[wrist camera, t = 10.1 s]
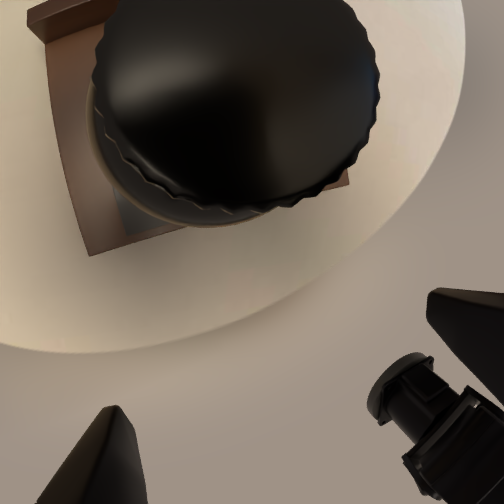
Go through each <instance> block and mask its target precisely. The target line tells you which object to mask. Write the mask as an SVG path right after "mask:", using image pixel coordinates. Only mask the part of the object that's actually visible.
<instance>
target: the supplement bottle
mask: <svg viewBox="0 0 504 504" xmlns="http://www.w3.org/2000/svg"><path fill="white" fill-rule="evenodd" d="M375 57H376V56H375V50H374V48H373V47H372V45H371V43H370V42H369V40H368V37H367V32H366V29H365V27H364V26H363V25H362V24H361V23H360V22H359V21H358V20H357V17H356V15H355V12H354V10H353V8H351V7H350V6H349V5H348V4H347V3H346V2H344V1H343V0H119V3H118V5H117V9H116V11H115V13H114V14H113V15H111V16H110V17H109V18H108V19H107V20H106V22H105V23H104V35H103V37H102V39H101V40H100V41H99V42H98V44H97V46H96V47H95V58H96V60H97V63H96V66H95V68H94V69H93V72H92V75H91V80H90V83H89V87H88V92H87V98H86V128H87V134H88V139H89V143H90V146H91V149H92V152H93V155H94V157H95V159H96V161H97V163H98V165H99V167H100V169H101V170H102V172H103V174H104V175H105V177H106V178H107V179H108V181H109V182H110V183H111V185H112V186H113V187H114V188H115V189H116V190H117V191H118V192H119V193H120V194H121V195H122V196H123V197H124V198H125V199H127V200H128V201H129V202H130V203H131V204H133V205H134V206H136V207H137V208H139V209H140V210H142V211H144V212H146V213H148V214H150V215H151V216H154V217H156V218H158V219H161V220H163V221H167V222H170V223H173V224H177V225H182V226H187V227H197V228H216V227H226V226H231V225H237V224H240V223H244V222H247V221H250V220H253V219H255V218H258V217H260V216H262V215H264V214H266V213H268V212H270V211H272V210H273V209H275V208H277V207H278V206H279V207H288V208H290V207H293V206H294V205H296V204H297V203H298V202H299V201H300V200H301V199H303V198H311V197H316V196H317V195H318V194H319V193H320V192H321V191H322V190H323V189H324V188H325V186H326V185H330V184H333V183H335V182H338V181H339V179H340V178H341V176H342V173H343V172H344V170H345V169H347V168H348V167H350V166H352V165H353V164H355V163H356V160H357V157H358V153H359V151H360V150H361V149H362V148H363V147H364V146H365V145H366V144H367V143H368V140H369V132H370V129H371V128H372V126H373V125H374V124H375V122H376V107H377V105H378V102H379V100H380V92H379V89H378V82H379V78H380V73H379V70H378V67H377V65H376V63H375Z"/></svg>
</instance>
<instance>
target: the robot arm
mask: <svg viewBox="0 0 504 504" xmlns="http://www.w3.org/2000/svg"><path fill="white" fill-rule="evenodd" d="M426 318H427V321H428V323H429V324H430V325H431V327H432V328H433V329H434V330H435V331H436V332H437V334H438V335H439V336H440V337H441V338H442V340H443V341H444V342H445V343H446V345H447V346H448V347H449V348H450V349H451V351H452V352H453V353H454V354H455V355H456V356H457V357H458V358H459V359H460V361H461V362H463V364H464V365H465V366H466V367H467V368H468V369H469V370H470V371H471V372H472V373H473V374H474V375H475V376H476V377H477V378H478V379H479V380H480V381H481V382H482V383H483V384H484V385H485V386H486V388H487V389H488V390H489V391H490V392H491V393H492V394H493V395H494V396H495V397H496V398H497V399H498V400H499V402H500V403H502V405H503V406H504V293H495V292H484V291H471V290H462V289H450V288H437V289H435V290H433V291H431V292H430V293H429V294H428V297H427V310H426ZM433 362H434V358H433V357H432V356H428V357H427V358H425V359H424V360H422V361H421V362H419V363H417V364H416V365H414V366H413V367H411V368H409V369H408V370H406V371H404V372H403V373H401V374H399V375H397V376H396V377H394V378H392V379H390V380H389V381H387V382H385V383H384V384H383V385H382V387H381V396H380V406H379V415H378V424H379V425H380V426H382V425H384V424H386V423H388V422H389V421H391V420H393V421H394V422H395V423H396V424H397V425H398V426H399V428H400V429H401V430H402V431H403V432H404V433H405V434H406V435H407V436H408V437H409V438H410V439H411V440H412V442H413V443H414V444H415V446H414V447H413V448H412V449H410V451H408V452H407V453H405V454H404V455H403V456H402V459H403V461H404V462H403V464H404V465H405V467H406V468H407V469H408V470H409V472H410V473H411V475H412V476H413V478H414V480H415V482H416V484H417V486H418V488H419V491H420V493H421V494H422V495H424V496H425V495H426V496H427V495H429V496H431V497H432V498H434V499H436V500H441V499H443V500H444V501H445V502H447V503H448V504H504V411H502V410H501V409H500V408H499V407H498V406H496V405H495V404H494V403H492V402H491V401H489V400H488V399H487V398H485V397H484V396H482V395H481V394H479V393H478V392H477V391H475V390H474V389H473V388H471V387H470V386H468V385H467V386H466V387H465V388H464V391H463V392H462V394H461V395H459V394H457V393H456V392H455V391H454V390H453V389H451V388H450V387H449V384H448V383H447V382H445V381H444V380H443V379H442V378H440V377H439V376H438V375H437V374H436V373H434V372H433V371H432V368H433ZM475 404H477V405H478V406H477V407H476V408H474V406H475ZM35 504H148V501H147V492H146V485H145V479H144V474H143V469H142V465H141V459H140V454H139V450H138V444H137V438H136V433H135V430H134V427H133V425H132V424H131V423H130V421H129V420H128V418H127V416H126V415H125V414H124V412H123V411H122V409H121V408H120V407H119V406H118V405H113V406H108V407H104V408H103V409H102V410H101V411H100V412H99V414H98V415H97V416H96V418H95V419H94V421H93V422H92V423H91V425H90V426H89V427H88V429H87V430H86V432H85V433H84V435H83V436H82V437H81V439H80V440H79V441H78V443H77V444H76V446H75V447H74V448H73V450H72V451H71V453H70V454H69V455H68V457H67V458H66V460H65V461H64V462H63V464H62V465H61V467H60V468H59V469H58V471H57V472H56V474H55V475H54V476H53V478H52V479H51V481H50V482H49V484H48V485H47V486H46V488H45V490H44V491H43V492H42V494H41V496H40V497H39V498H38V500H37V503H35Z"/></svg>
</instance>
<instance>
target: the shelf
mask: <svg viewBox="0 0 504 504" xmlns="http://www.w3.org/2000/svg"><path fill="white" fill-rule="evenodd" d="M118 3H119V0H48V1H46V2H43V3H41V4H39V5H37V6H35V7H33V8H30V9H28V10H27V27H28V28H29V29H30V30H31V31H32V32H33V33H34V34H35V35H36V36H37V37H38V38H39V39H40V40H41V41H42V42H43V43H44V44H45V54H46V66H47V77H48V86H49V94H50V101H51V108H52V114H53V121H54V126H55V132H56V137H57V142H58V147H59V152H60V157H61V161H62V165H63V170H64V174H65V178H66V182H67V186H68V190H69V193H70V197H71V201H72V204H73V208H74V211H75V215H76V218H77V221H78V224H79V228H80V231H81V234H82V237H83V240H84V243H85V246H86V249H87V252H88V255H89V256H93V255H97V254H100V253H103V252H106V251H109V250H112V249H115V248H119V247H122V246H125V245H128V244H131V243H135V242H138V241H141V240H144V239H148V238H151V237H154V236H158V235H161V234H164V233H168V232H171V231H175V230H178V229H181V228H185V227H187V226H182V225H177V224H173V223H170V222H167V221H163V220H161V219H158V218H156V217H154V216H151V215H150V214H148V213H146V212H144V211H142V210H140V209H139V208H137V207H136V206H134V205H133V204H131V203H130V202H129V201H128V200H127V199H125V198H124V197H123V196H122V195H121V194H120V193H119V192H118V191H117V190H116V189H115V188H114V187H113V186H112V185H111V183H110V182H109V181H108V179H107V178H106V177H105V175H104V174H103V172H102V170H101V169H100V167H99V165H98V163H97V161H96V159H95V157H94V155H93V152H92V149H91V146H90V143H89V139H88V134H87V128H86V98H87V92H88V87H89V83H90V80H91V75H92V72H93V69H94V68H95V66H96V63H97V60H96V58H95V47H96V46H97V44H98V42H99V41H100V40H101V39H102V37H103V35H104V23H105V22H106V20H107V19H108V18H109V17H110V16H111V15H113V14H114V13H115V11H116V9H117V5H118ZM346 185H349V178H348V171H347V169H345V170H344V172H343V173H342V176H341V178H340V179H339V181H338V182H335V183H333V184H330V185H326V186H325V188H324V189H323V190H322V191H325V190H329V189H334V188H338V187H342V186H346Z"/></svg>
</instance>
